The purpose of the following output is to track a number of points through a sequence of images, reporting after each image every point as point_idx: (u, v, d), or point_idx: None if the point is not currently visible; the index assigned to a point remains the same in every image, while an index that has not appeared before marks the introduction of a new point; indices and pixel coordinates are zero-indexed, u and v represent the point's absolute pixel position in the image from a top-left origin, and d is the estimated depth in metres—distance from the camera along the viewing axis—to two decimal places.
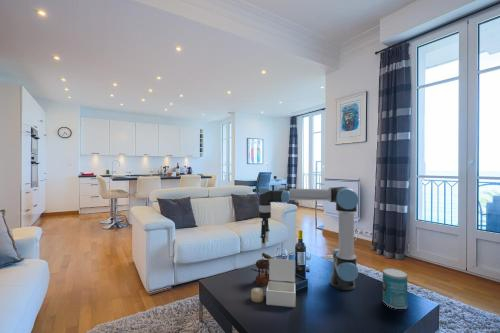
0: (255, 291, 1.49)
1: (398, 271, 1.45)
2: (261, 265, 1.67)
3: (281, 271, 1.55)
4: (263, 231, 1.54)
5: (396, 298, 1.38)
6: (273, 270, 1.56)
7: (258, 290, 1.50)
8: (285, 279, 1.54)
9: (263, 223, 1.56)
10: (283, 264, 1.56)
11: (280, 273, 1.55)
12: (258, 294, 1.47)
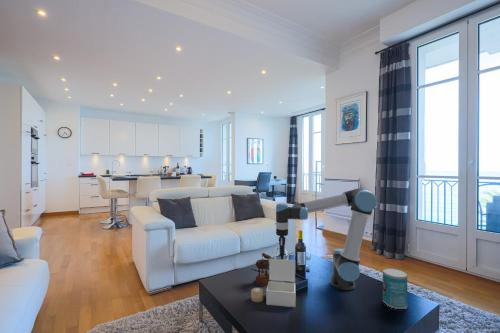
0: (255, 291, 1.49)
1: (398, 271, 1.45)
2: (261, 265, 1.67)
3: (281, 271, 1.55)
4: (281, 251, 1.55)
5: (396, 298, 1.38)
6: (273, 270, 1.56)
7: (258, 290, 1.50)
8: (285, 279, 1.54)
9: (281, 244, 1.54)
10: (283, 264, 1.56)
11: (280, 273, 1.55)
12: (258, 294, 1.47)
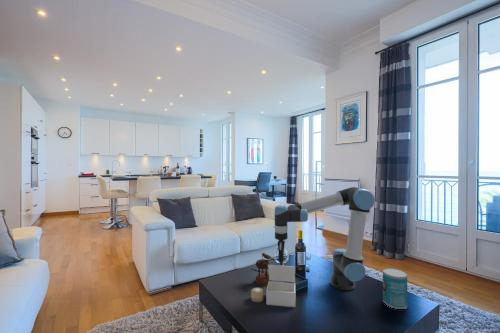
0: (255, 291, 1.49)
1: (398, 271, 1.45)
2: (261, 265, 1.67)
3: (281, 274, 1.52)
4: (281, 256, 1.48)
5: (396, 298, 1.38)
6: (272, 273, 1.53)
7: (258, 290, 1.50)
8: (285, 280, 1.54)
9: (280, 249, 1.47)
10: (282, 269, 1.50)
11: (280, 275, 1.53)
12: (258, 294, 1.47)
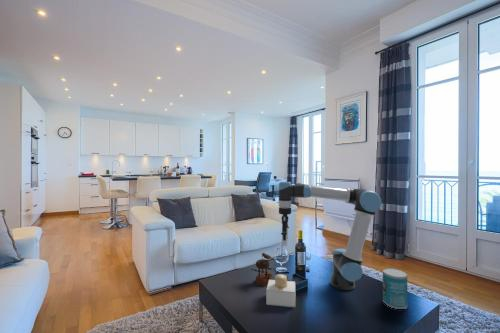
0: (279, 277, 1.47)
1: (398, 271, 1.45)
2: (261, 265, 1.67)
3: None
4: (284, 227, 1.47)
5: (396, 298, 1.38)
6: None
7: (282, 276, 1.48)
8: None
9: (284, 219, 1.49)
10: None
11: None
12: (282, 280, 1.45)
